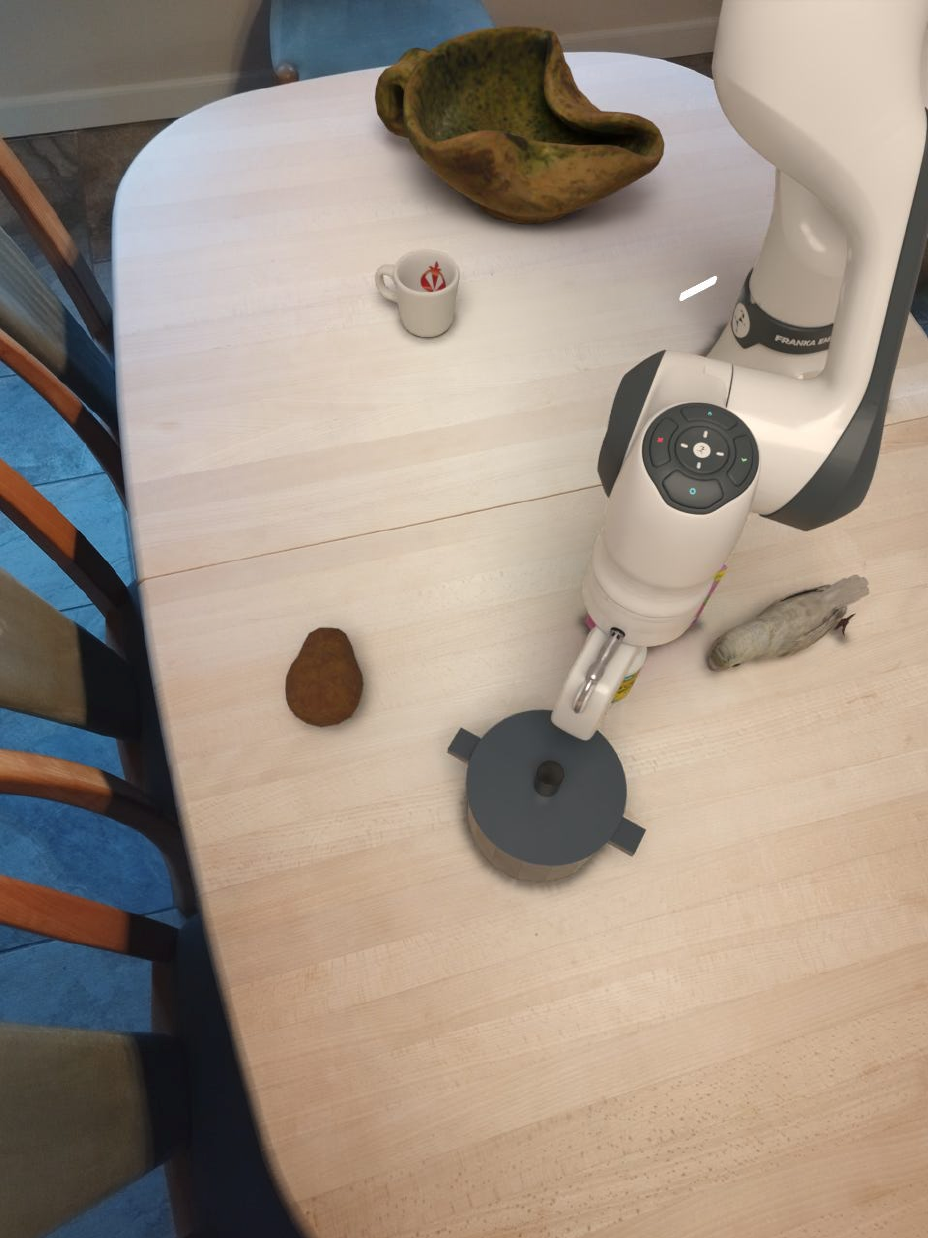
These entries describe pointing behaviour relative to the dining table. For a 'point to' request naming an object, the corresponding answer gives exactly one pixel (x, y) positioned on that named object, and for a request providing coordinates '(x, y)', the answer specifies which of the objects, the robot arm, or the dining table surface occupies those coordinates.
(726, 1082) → the dining table surface
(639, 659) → the supplement bottle
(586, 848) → the pot lid
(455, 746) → the pot
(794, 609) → the decorative bird
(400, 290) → the cup
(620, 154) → the bowl
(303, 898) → the dining table surface
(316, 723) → the potato
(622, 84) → the dining table surface
